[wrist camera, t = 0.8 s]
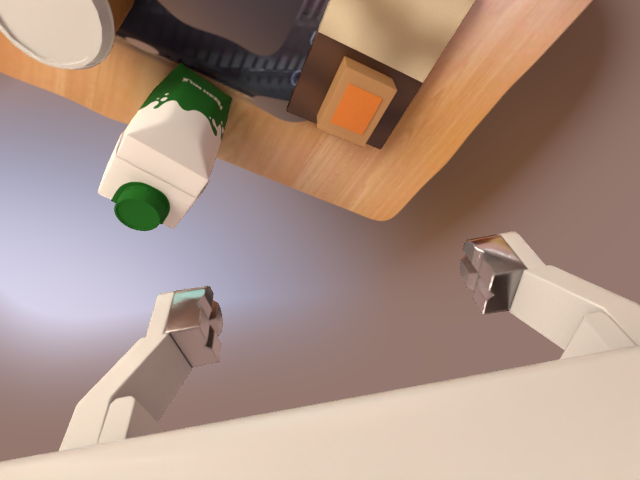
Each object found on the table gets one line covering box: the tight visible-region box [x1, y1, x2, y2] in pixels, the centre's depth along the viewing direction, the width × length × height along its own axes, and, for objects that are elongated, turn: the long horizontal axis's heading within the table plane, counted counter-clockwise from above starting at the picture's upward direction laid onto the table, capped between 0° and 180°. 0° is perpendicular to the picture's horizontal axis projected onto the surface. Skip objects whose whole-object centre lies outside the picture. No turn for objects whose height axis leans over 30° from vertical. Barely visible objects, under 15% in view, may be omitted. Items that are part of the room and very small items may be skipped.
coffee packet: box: [317, 56, 397, 147], centre depth 44 cm, size 8×6×4 cm
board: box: [287, 0, 475, 149], centre depth 43 cm, size 20×14×1 cm
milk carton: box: [98, 63, 232, 231], centre depth 40 cm, size 9×9×20 cm
